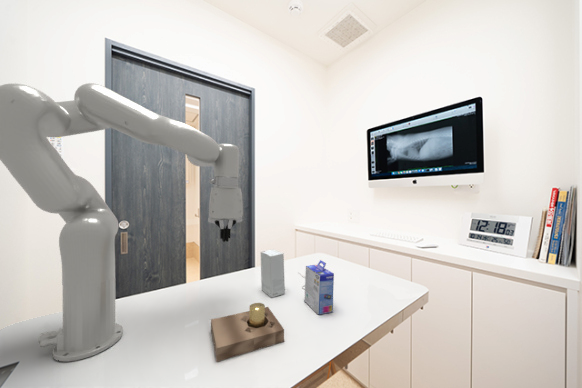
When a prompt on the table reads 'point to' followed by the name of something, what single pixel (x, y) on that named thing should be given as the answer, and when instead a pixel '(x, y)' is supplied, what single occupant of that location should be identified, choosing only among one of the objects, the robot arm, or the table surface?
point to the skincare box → (272, 272)
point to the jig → (243, 334)
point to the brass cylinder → (257, 315)
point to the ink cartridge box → (319, 288)
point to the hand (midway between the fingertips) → (225, 240)
